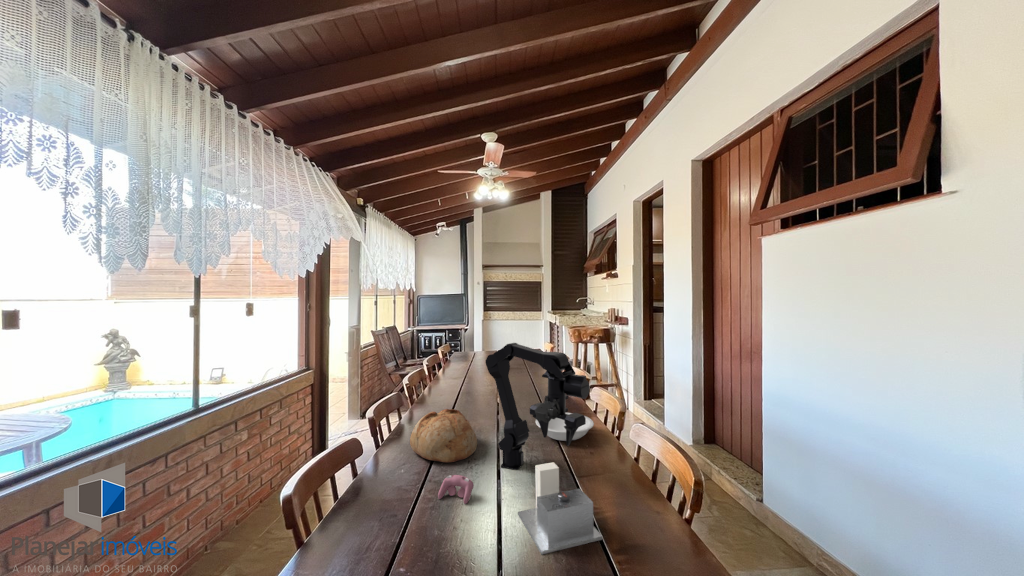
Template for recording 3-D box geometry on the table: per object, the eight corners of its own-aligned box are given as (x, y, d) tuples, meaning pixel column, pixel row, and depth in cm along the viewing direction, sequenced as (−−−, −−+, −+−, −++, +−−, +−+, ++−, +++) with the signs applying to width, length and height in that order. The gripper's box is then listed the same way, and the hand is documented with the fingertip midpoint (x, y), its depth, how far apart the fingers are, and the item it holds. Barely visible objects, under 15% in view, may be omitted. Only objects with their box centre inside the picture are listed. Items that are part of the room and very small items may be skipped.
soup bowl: (599, 449, 144) (599, 431, 144) (537, 449, 144) (537, 432, 144) (587, 426, 168) (587, 412, 168) (534, 427, 168) (534, 412, 168)
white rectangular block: (535, 507, 103) (535, 465, 104) (554, 503, 105) (553, 462, 105) (550, 528, 94) (549, 482, 94) (570, 523, 96) (569, 478, 96)
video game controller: (472, 504, 110) (476, 477, 113) (466, 504, 106) (470, 477, 109) (442, 498, 113) (447, 473, 116) (435, 498, 109) (440, 472, 112)
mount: (517, 514, 102) (517, 476, 102) (570, 503, 107) (570, 467, 107) (541, 554, 86) (540, 509, 86) (602, 539, 91) (601, 496, 91)
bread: (487, 455, 140) (487, 415, 140) (428, 473, 126) (427, 428, 127) (456, 434, 161) (456, 399, 162) (403, 447, 148) (402, 409, 148)
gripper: (518, 391, 121) (517, 439, 121) (565, 404, 108) (564, 458, 108) (540, 385, 129) (540, 430, 129) (586, 396, 116) (586, 447, 116)
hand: (556, 441), depth 120 cm, fingers open, 9 cm apart
